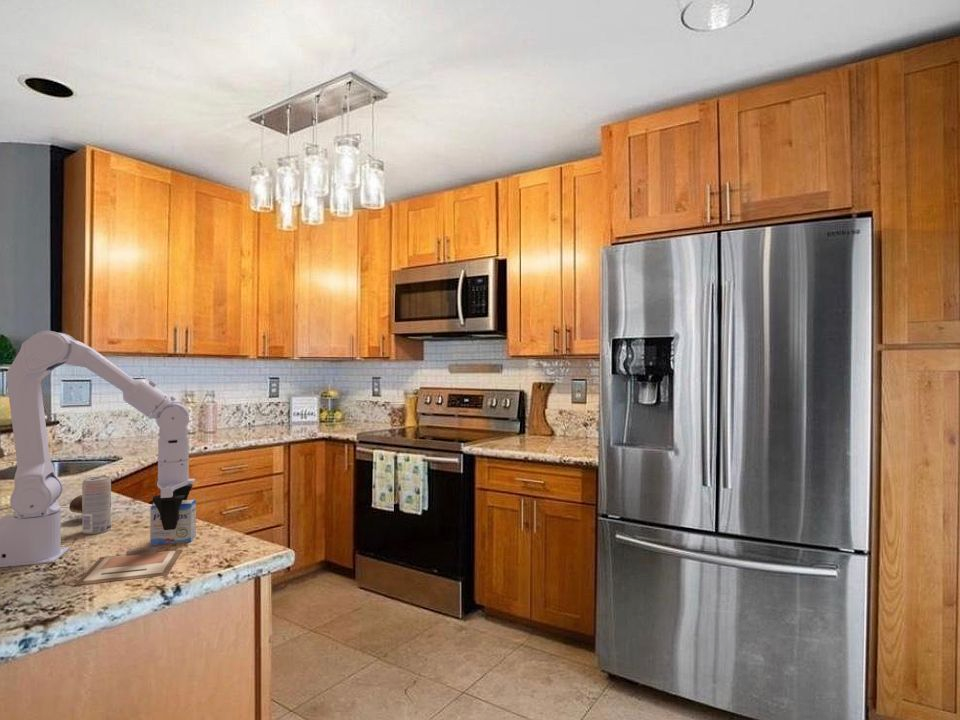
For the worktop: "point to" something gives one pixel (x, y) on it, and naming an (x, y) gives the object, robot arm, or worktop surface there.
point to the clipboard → (130, 566)
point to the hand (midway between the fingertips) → (173, 524)
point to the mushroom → (76, 505)
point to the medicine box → (183, 529)
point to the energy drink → (96, 505)
